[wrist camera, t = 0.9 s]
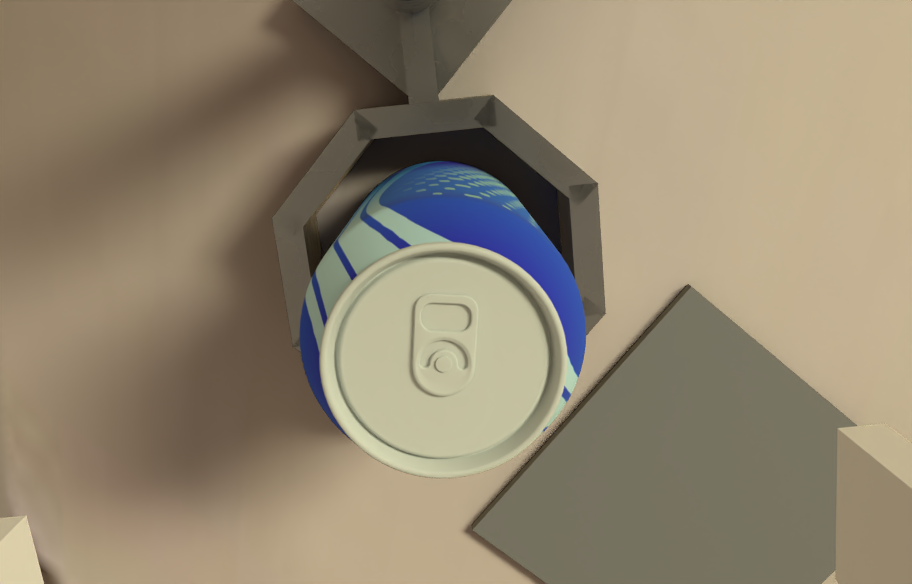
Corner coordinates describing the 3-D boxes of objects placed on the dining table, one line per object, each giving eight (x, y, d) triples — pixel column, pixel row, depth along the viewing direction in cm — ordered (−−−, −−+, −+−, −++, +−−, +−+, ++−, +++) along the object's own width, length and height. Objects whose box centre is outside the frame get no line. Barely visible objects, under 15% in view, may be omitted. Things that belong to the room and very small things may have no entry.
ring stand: (398, -137, 32) (342, -469, 13) (718, 146, 35) (1044, 206, 16) (149, 207, 35) (-185, 336, 16) (462, 440, 39) (486, 775, 20)
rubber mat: (688, 284, 37) (691, 286, 36) (919, 477, 40) (925, 482, 39) (471, 524, 40) (472, 530, 39) (701, 690, 42) (704, 697, 42)
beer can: (570, 244, 36) (668, 355, 21) (447, 372, 38) (454, 565, 22) (434, 118, 35) (431, 136, 19) (312, 257, 36) (217, 377, 21)
